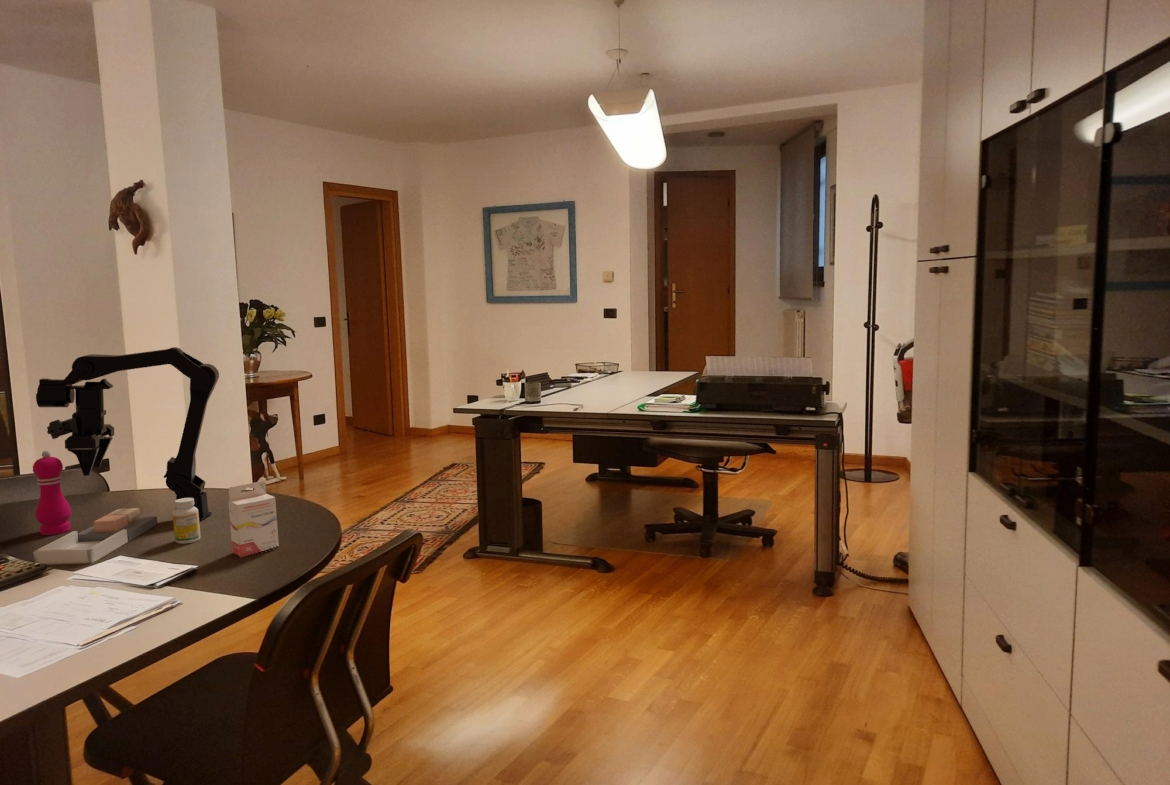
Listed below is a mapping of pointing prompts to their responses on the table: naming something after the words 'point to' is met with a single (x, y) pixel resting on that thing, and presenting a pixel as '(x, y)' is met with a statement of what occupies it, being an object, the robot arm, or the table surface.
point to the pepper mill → (51, 496)
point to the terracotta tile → (110, 523)
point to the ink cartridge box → (252, 519)
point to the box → (78, 549)
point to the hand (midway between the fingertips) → (91, 471)
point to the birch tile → (128, 514)
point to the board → (132, 530)
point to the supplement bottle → (186, 521)
